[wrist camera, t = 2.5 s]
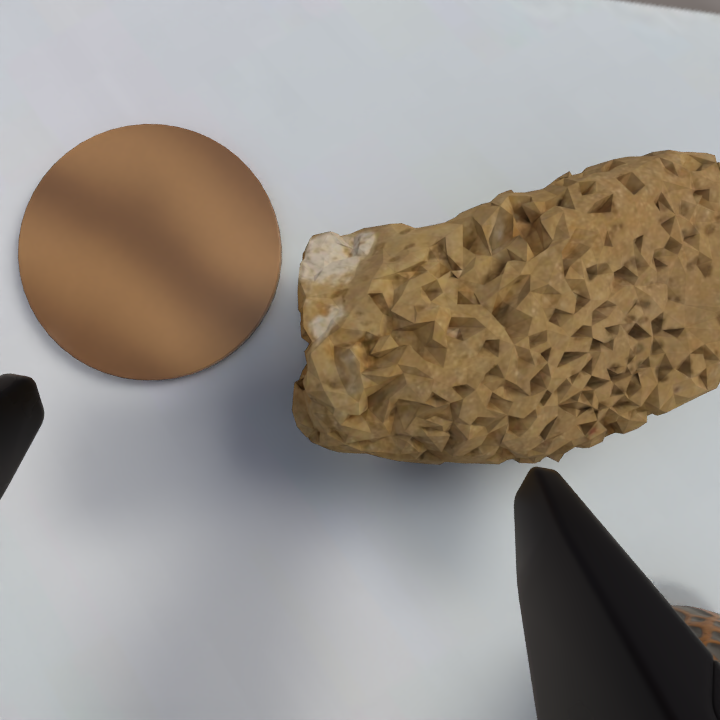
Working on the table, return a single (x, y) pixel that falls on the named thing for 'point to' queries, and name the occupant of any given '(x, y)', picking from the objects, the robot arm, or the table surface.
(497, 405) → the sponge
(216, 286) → the coaster
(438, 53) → the table surface
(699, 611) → the vase
